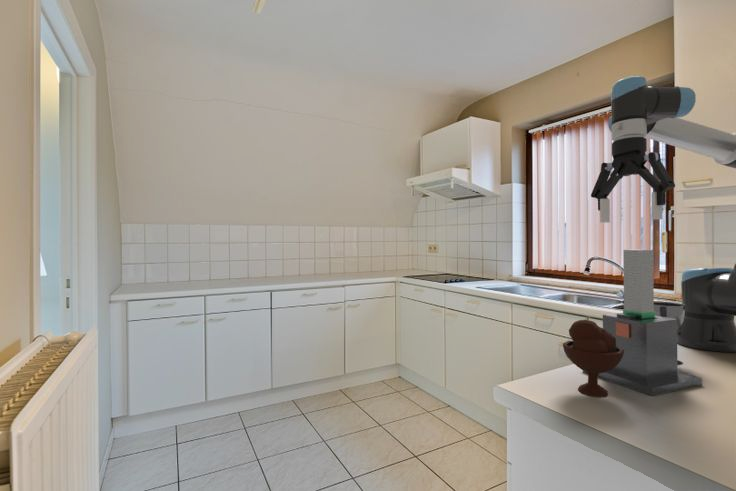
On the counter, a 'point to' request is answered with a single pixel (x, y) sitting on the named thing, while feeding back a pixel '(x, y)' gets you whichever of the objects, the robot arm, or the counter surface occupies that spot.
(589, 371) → the ice cream bowl
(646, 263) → the post
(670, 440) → the counter surface
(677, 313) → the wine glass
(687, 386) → the stand housing
